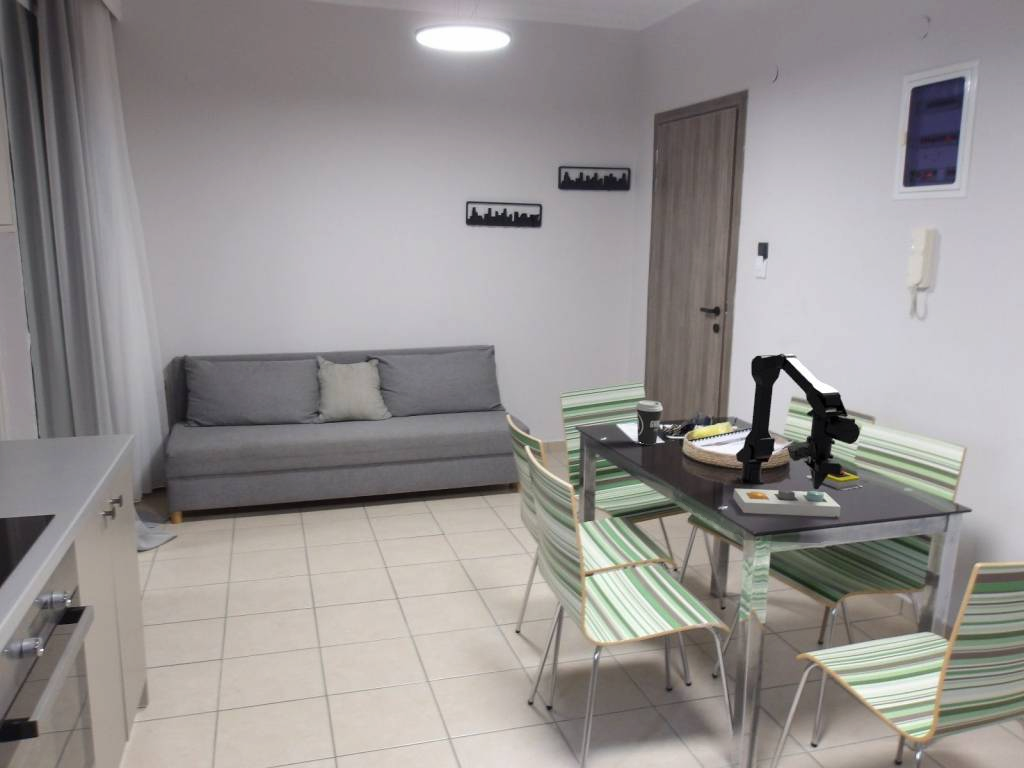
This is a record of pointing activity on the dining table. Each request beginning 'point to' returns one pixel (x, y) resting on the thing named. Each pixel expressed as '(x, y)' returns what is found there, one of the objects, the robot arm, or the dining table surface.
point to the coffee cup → (648, 421)
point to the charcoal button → (786, 495)
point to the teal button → (815, 496)
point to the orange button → (757, 495)
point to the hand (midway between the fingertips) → (815, 488)
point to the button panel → (785, 504)
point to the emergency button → (841, 481)
